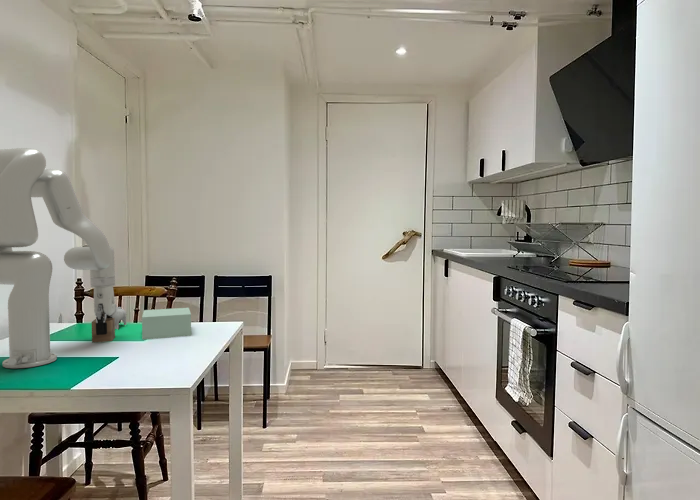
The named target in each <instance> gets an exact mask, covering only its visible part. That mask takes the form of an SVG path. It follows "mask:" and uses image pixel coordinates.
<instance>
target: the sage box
mask: <svg viewBox="0 0 700 500" xmlns="http://www.w3.org/2000/svg"><path fill="white" fill-rule="evenodd" d="M141 331H142V332H141V338H142V340H143V341H144V340H152V339H153V340H154V339H165V338H177V337H189V336H190V337H191V336H192V313H191V310H190V307H178V308H177V307H176V308H175V307H174V308H162V309H161V308H160V309H159V308H157V309H144V310H143V313H142V316H141Z"/></svg>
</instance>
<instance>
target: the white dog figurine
mask: <svg viewBox="0 0 700 500" xmlns="http://www.w3.org/2000/svg"><path fill="white" fill-rule="evenodd" d="M127 315H128V314H127V311H126V310H125V309H123V308H122V307H121V306H117V304H115V312H114V313H113V314H112V318H115V329H117V330H119V327H120V321H122V322H123V326H124V325H127Z"/></svg>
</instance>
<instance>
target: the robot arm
mask: <svg viewBox="0 0 700 500" xmlns="http://www.w3.org/2000/svg"><path fill="white" fill-rule="evenodd" d="M46 167H47V159H46V157H45V155H44V154H43V153H42V151H39V150H37V149H34V148H27V147H26V148H25V147H24V148H23V147H21V148H19V147H17V148H4V149H0V285H11V286H12V285H13V287H12V289H11V291H10V294H9V296H8V300H7V314H8V315H7V316H8V321H7V322H8V348H9V349H8V352H9V353H8V354H9V358H6V359H4V360H2V367H3V368H6V369H25V368H27V369H28V368H34V367H40V366H43V365H48V364H50V363H53V362H55V361H56V360H57V359H58V357H57V356H58V355H57V354H56V353H52V352H51V332H50V331H51V329H50V328H51V325H50V286H51V280H52V276H53V275H52V274H53V263H52V261H51V259H50V257H49V256H48V255H46V254H44V253H42V252H40V251H35V250H33V251H32V250H13V248H26V247H30V246H32V245H34V244H35V243H36V242H37V241H38V239H39V230H38V229H39V228H38V225H37V219H36V215H35V211H34V207H33V201H32V198H42V200H43V202H44V204H45V206H46V209H47V210H48V213H49V215H50V218H51V221H52V222H53V224H55V226H58V227H59V228H61V229H64V231H65V230H66V231H67V232H70V233H72V234H74V235H76V236H78V237H79V238H81V239H82V240H83V241H84V242H85V243H86V245H87V246H74V247H71V248H69V249H68V250H67V251H66V252H65V253H64V255H63V260H64V261H63V262H64V264H65V265H66V266H67V267H68V268H70V269H72V270H76V271H77V270H78V271H79V270H81V271H84V270H85V271H88V270H89V278H90V282H89V283H90V288H91V289H93V313H94V316H95V319H96V335H105V334H107V322H106V318H112V314H113V313H114V312H115V292H114V287H115V286H116V270H115V267H116V266H115V265H116V264H115V261H116V260H115V249H114V248H113V246H110V243H109V241H108V238H107V235H106V234H105V233H104V232H103V231H102V229H100V228H99V227H98V226H97V225H96V224H95V223H94V222H93V221H92V220H90V219H89V218H88V217H87V216H86V215H85V214H84V212H83V210H82V207H81V205H80V202H79V199H78V197H77V194H76V192H75V189H74V187H73V185H72V182H71V180H70V178H69V176H68V174H67V173H66V172H64V171H63V170H61V169H56V168H46ZM103 318H104V319H103Z"/></svg>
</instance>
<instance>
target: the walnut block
mask: <svg viewBox="0 0 700 500" xmlns="http://www.w3.org/2000/svg"><path fill="white" fill-rule="evenodd" d="M103 319H104V318H103ZM106 322H107V334H105V335H96V318H95V319H93V321H91V343H105V342H113V341H114V339H115V338H116V330H115V318H106Z"/></svg>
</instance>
